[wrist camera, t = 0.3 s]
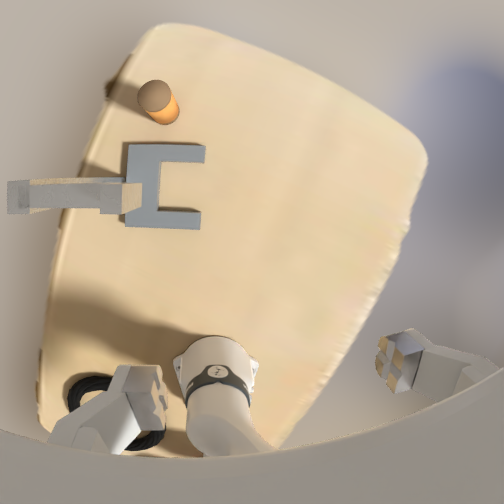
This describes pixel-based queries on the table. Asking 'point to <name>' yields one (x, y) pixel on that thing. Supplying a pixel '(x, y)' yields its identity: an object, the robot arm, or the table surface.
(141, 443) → the cable lock
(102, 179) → the hook stand
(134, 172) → the grey u-shaped bracket
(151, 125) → the table surface
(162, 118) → the orange brown canister
